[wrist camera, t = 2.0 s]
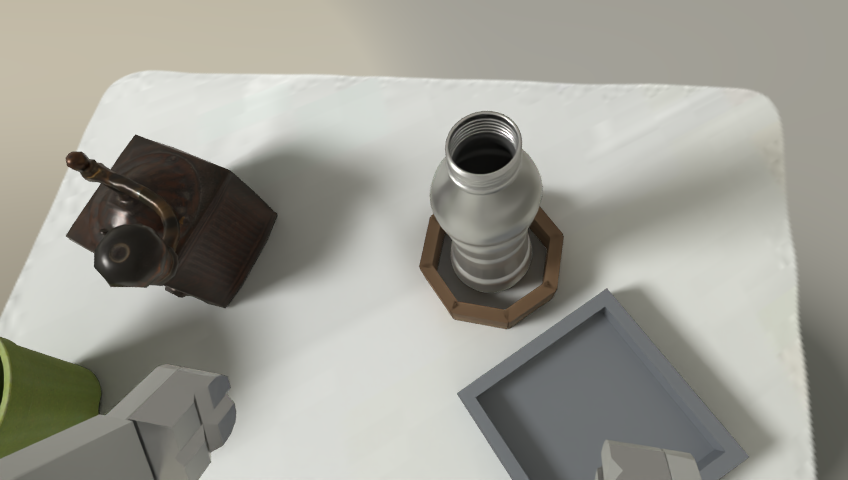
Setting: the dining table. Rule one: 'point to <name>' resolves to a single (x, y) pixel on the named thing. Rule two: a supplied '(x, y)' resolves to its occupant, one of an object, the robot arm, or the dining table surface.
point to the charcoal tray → (592, 400)
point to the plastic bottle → (487, 201)
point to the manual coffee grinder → (170, 222)
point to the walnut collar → (489, 315)
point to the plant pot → (41, 396)
